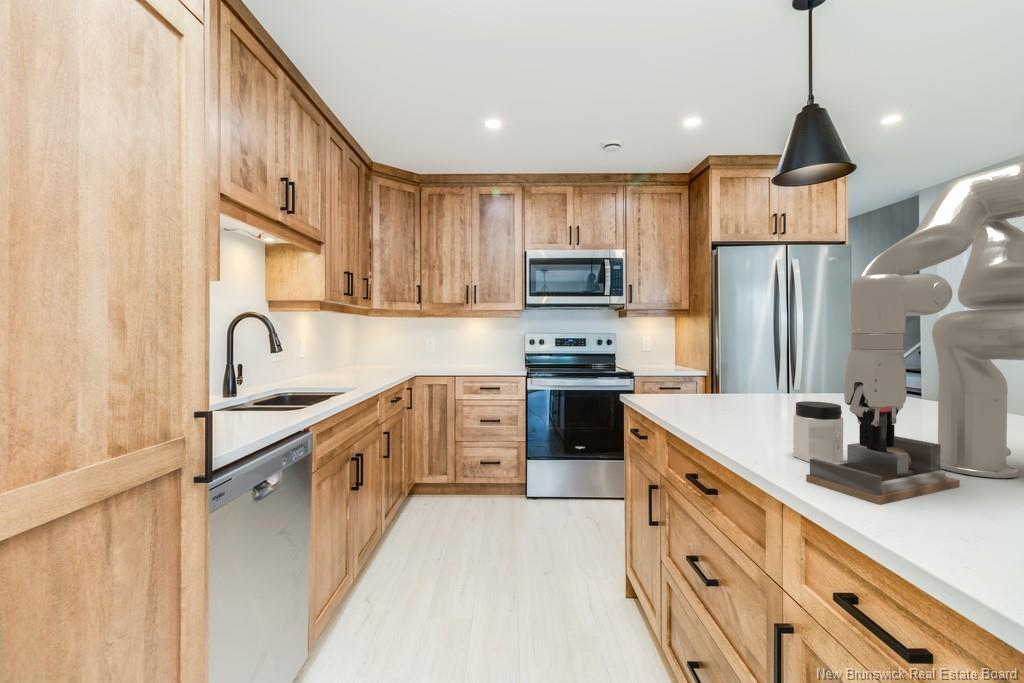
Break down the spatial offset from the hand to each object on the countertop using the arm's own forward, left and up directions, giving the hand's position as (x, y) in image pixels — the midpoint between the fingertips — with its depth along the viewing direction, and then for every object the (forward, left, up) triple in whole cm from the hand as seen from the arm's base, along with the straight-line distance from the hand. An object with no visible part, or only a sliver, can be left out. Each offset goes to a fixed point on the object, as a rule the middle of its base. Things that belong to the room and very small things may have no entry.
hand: (876, 445), depth 79 cm
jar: (-6, -15, -7) cm, 18 cm away
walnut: (-5, 0, -3) cm, 6 cm away
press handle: (0, 0, -6) cm, 6 cm away
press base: (-1, 0, -7) cm, 7 cm away
